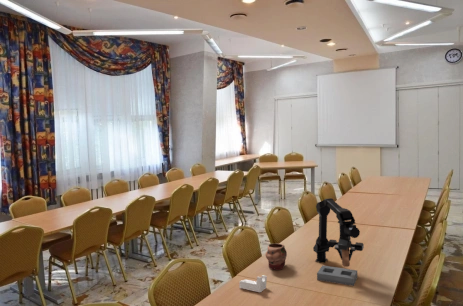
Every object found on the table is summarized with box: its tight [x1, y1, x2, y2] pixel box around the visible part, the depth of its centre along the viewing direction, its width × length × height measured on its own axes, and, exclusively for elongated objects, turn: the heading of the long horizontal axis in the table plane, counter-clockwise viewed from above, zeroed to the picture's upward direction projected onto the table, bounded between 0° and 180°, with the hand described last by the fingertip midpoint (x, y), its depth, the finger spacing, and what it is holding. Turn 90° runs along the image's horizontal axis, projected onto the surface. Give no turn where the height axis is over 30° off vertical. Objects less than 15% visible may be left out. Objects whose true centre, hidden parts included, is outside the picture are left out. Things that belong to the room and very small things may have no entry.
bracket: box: [238, 274, 268, 293], centre depth 194 cm, size 13×7×8 cm, turn 59°
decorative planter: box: [265, 242, 288, 271], centre depth 222 cm, size 20×12×14 cm, turn 150°
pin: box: [341, 248, 351, 268], centre depth 197 cm, size 4×4×10 cm
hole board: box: [316, 265, 358, 287], centre depth 200 cm, size 12×20×4 cm, turn 61°
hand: (345, 259), depth 197 cm, fingers closed on pin, 4 cm apart
